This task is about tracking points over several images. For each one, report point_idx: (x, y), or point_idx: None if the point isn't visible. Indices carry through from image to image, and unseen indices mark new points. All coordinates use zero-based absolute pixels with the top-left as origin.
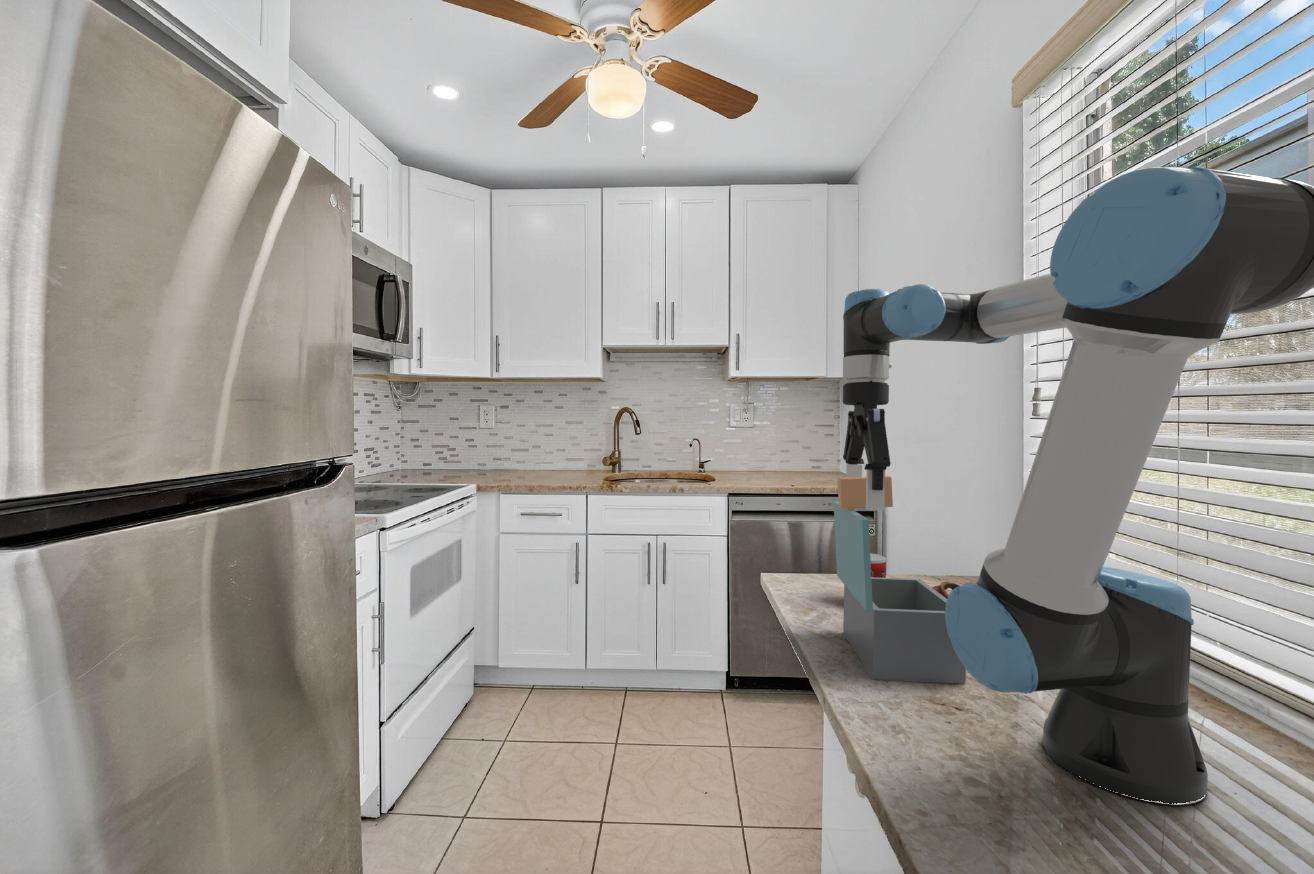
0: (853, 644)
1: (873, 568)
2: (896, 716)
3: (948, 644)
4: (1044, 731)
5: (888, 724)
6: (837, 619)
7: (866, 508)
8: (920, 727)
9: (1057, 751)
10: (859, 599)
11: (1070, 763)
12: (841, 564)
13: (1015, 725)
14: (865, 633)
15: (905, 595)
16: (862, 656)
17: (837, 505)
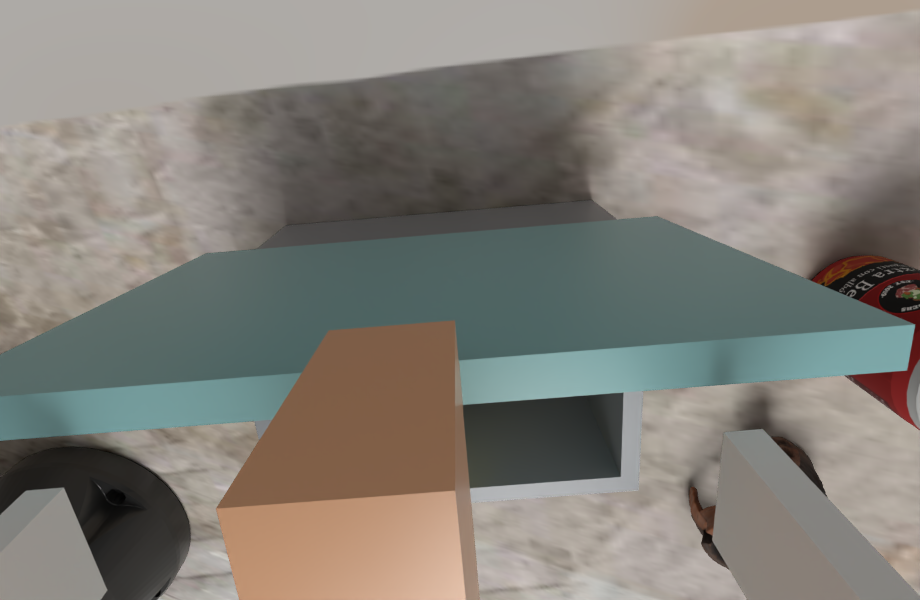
0: (471, 212)
1: (891, 381)
2: (114, 240)
3: None
4: (80, 467)
5: (71, 216)
6: (711, 199)
7: (37, 496)
8: (86, 275)
9: (39, 460)
10: (290, 248)
11: (20, 464)
12: (579, 237)
13: (168, 436)
14: (339, 241)
15: (606, 416)
16: (376, 221)
17: (744, 333)
